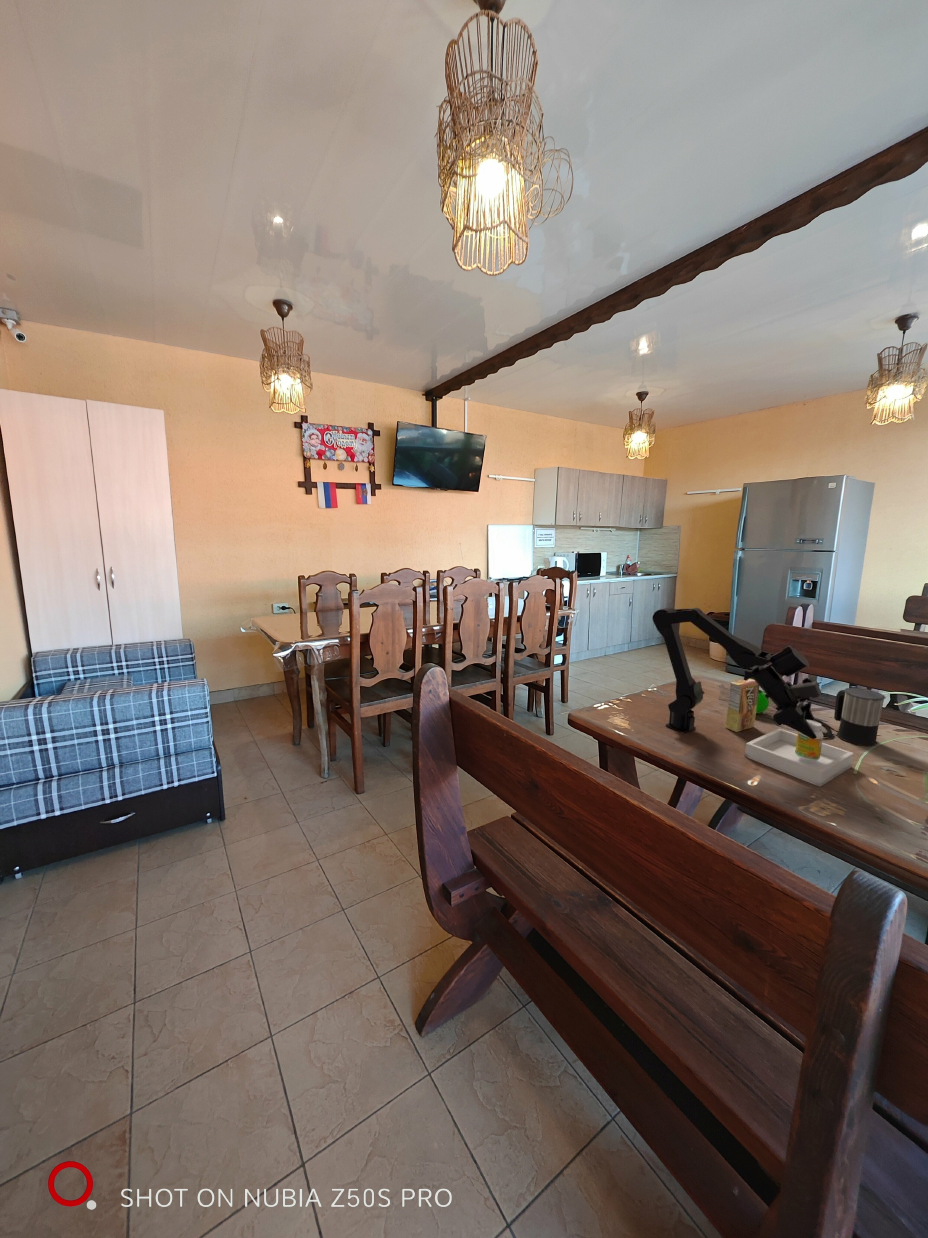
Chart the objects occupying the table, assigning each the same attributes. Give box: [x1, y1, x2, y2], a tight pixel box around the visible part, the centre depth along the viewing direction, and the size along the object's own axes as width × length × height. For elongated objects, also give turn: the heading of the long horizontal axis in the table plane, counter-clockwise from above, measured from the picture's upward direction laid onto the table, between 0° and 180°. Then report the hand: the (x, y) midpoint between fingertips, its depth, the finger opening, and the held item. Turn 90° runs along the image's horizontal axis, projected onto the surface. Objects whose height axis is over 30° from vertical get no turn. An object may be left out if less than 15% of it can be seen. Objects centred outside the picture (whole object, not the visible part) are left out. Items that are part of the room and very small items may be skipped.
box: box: [744, 727, 855, 788], centre depth 124 cm, size 18×18×4 cm
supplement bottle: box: [795, 720, 824, 761], centre depth 122 cm, size 5×5×10 cm
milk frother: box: [814, 687, 887, 747], centre depth 137 cm, size 14×16×15 cm
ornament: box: [756, 689, 770, 714], centre depth 156 cm, size 8×8×10 cm
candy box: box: [725, 678, 760, 733], centre depth 144 cm, size 9×4×15 cm, turn 116°
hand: (816, 734), depth 120 cm, fingers closed on supplement bottle, 5 cm apart
